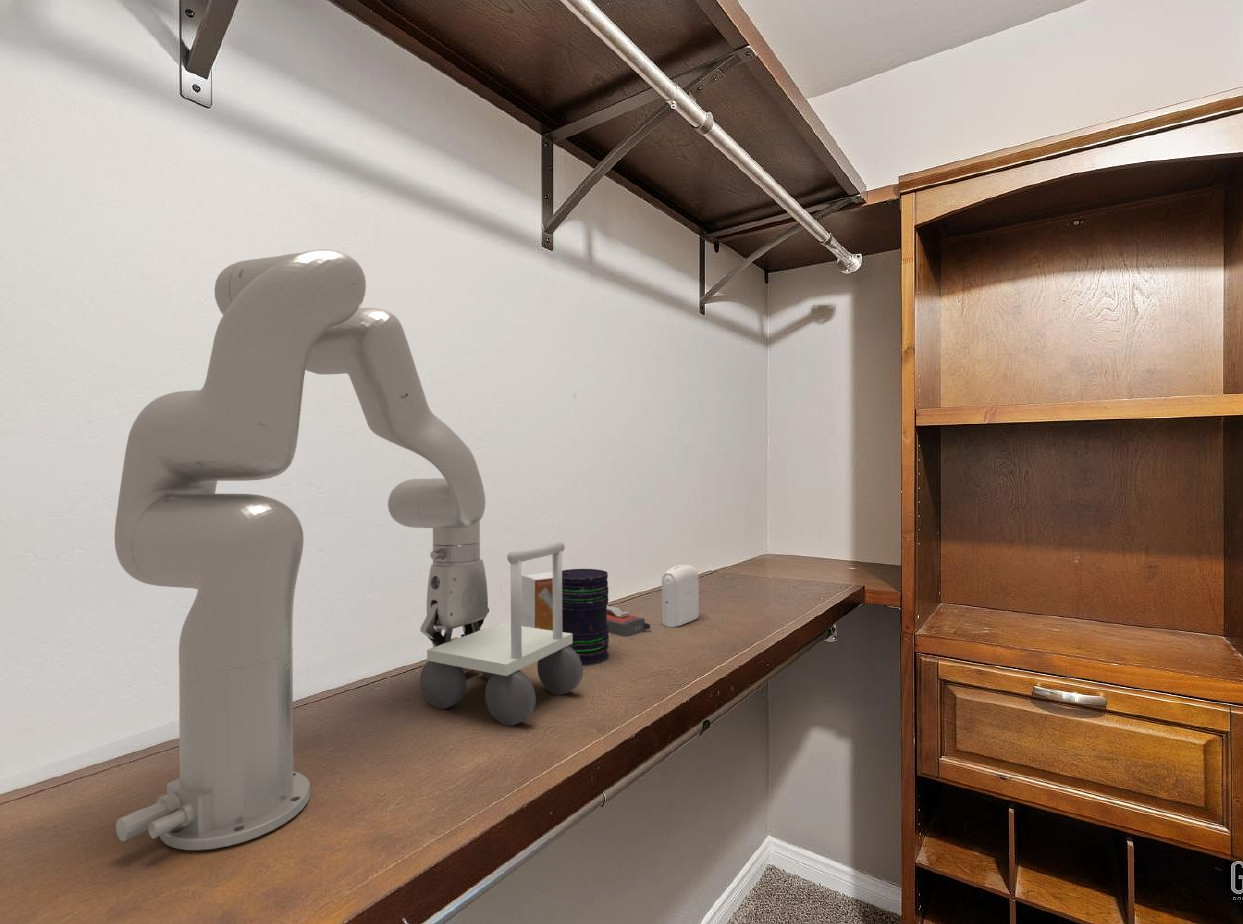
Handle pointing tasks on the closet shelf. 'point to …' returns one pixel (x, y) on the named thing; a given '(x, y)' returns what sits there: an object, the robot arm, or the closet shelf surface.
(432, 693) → the trolley
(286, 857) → the closet shelf surface
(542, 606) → the small box
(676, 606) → the photo printer
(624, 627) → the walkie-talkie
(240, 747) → the robot arm
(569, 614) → the dark blue cylinder
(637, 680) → the closet shelf surface
